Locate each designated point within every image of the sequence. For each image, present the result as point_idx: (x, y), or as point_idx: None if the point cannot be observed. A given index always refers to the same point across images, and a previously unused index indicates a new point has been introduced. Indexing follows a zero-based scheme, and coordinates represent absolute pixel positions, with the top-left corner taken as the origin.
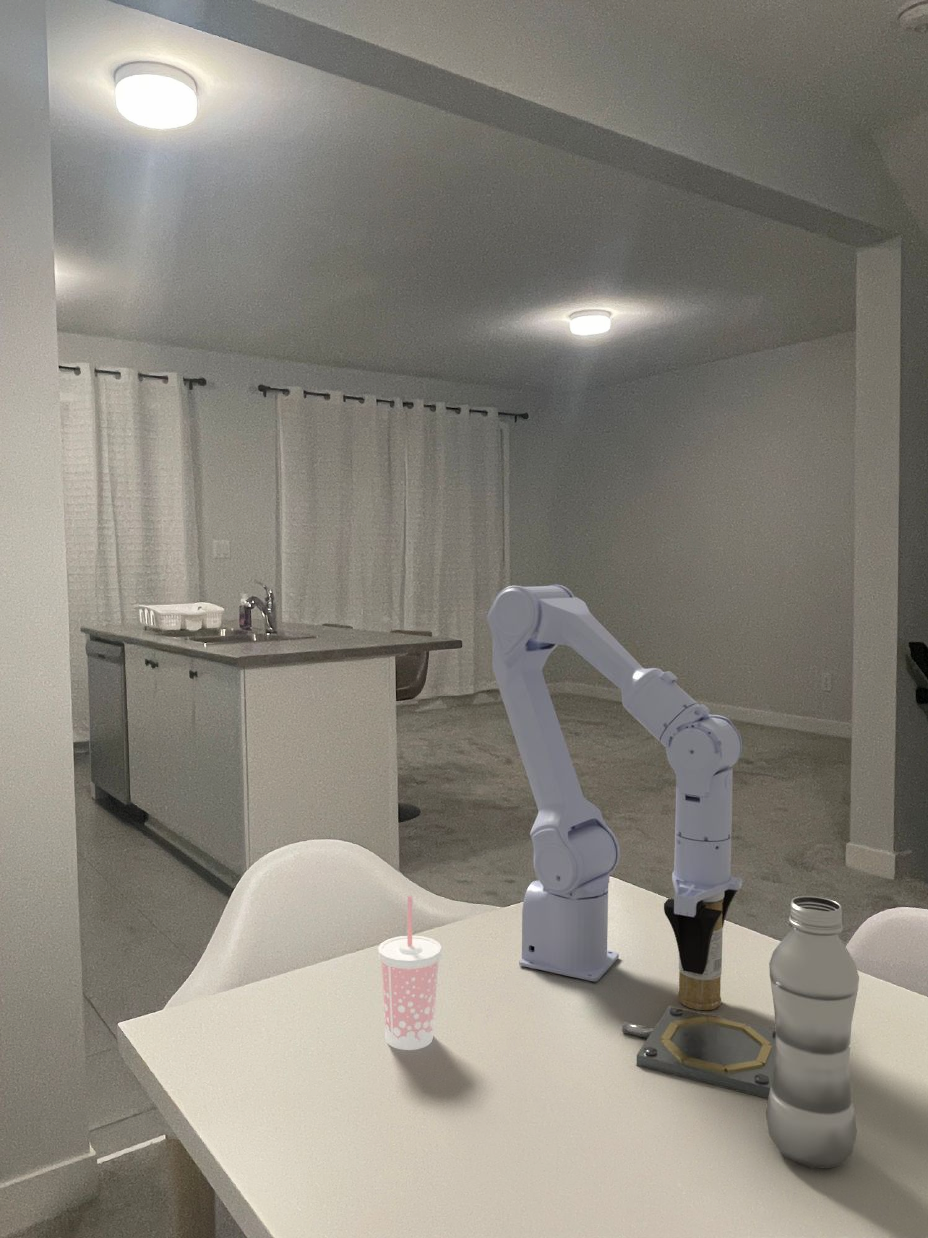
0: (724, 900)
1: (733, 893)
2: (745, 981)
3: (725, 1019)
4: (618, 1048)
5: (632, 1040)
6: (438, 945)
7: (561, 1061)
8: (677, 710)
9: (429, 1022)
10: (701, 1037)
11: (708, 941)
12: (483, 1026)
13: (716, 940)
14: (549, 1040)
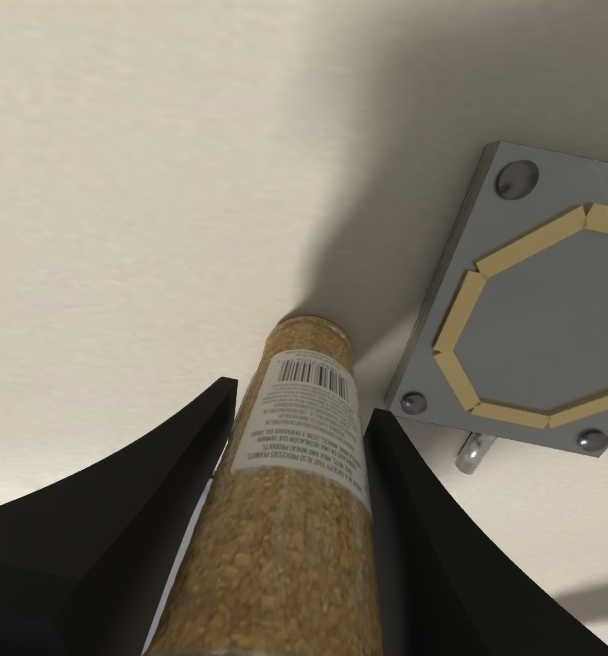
0: (122, 555)
1: (67, 602)
2: (160, 260)
3: (433, 314)
4: (518, 463)
5: None
6: None
7: (560, 519)
8: None
9: None
10: (530, 361)
11: (462, 510)
12: None
13: (342, 450)
14: (494, 531)
